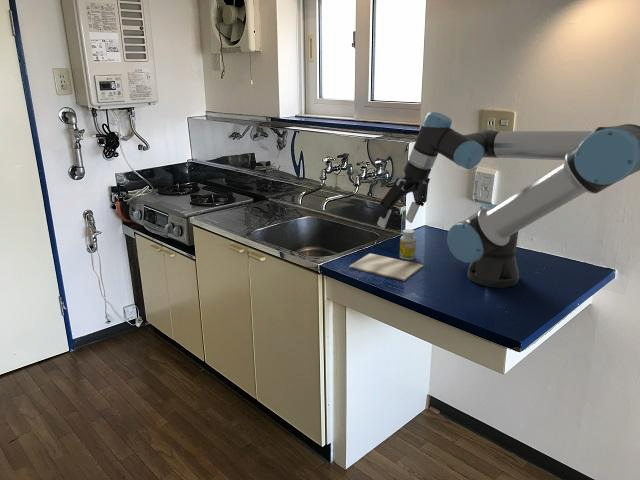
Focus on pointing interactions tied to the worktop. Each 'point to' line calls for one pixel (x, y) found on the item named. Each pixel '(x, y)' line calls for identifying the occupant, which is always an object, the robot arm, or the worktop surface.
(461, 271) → the worktop surface
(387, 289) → the worktop surface
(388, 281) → the worktop surface
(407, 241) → the supplement bottle
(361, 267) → the birch board
